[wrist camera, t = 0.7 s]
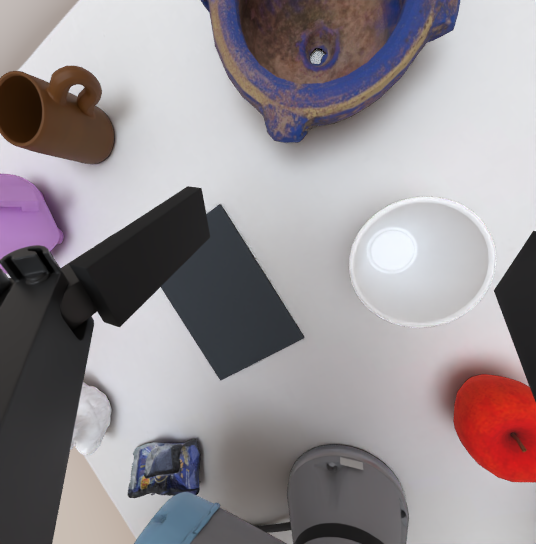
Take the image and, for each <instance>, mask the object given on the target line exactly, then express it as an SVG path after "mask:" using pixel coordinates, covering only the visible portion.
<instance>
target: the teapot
mask: <svg viewBox="0 0 536 544" xmlns="http://www.w3.org/2000/svg"><path fill="white" fill-rule="evenodd" d="M62 241H63V233H62V231H61V230H60V229H59V228H57V226H56V223H55V221H54V219H53V217H52V215H51V213H50V211H49V208H48V207H47V205H46V203H45V201H44V196H43V194H42V192H41V191H39V190H38V189H37V188H36V186H35V185H34V184H32V183H31V182H29V181H27V180H26V179H24V178H22V177H19V176H16V175H10V174H0V260H1V259H2V258H3V257H4V256H6V255H7V254H9V253H11V252H13V251H15V250H18V249H20V248H24V247H28V246H36V245H40V246H45V247H46V248H48V250H49V251H51V250H52V249H53V248H54V247H55V245H56V244H60V243H62ZM0 268H1V269H2V270H3V272H4V273H5V274H6V273H7V272H6V270H5V269H4V268H3V267H2V265H1V264H0Z"/></svg>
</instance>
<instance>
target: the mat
mask: <svg viewBox="0 0 536 544" xmlns="http://www.w3.org/2000/svg"><path fill="white" fill-rule="evenodd" d="M206 216H207V221H208V226H209V232H210V238H209V239H208V240H207V241H206V242H205V243H204V244H203V245H202V246H201V247H200V248H199V249H198V250H197V251H196V252H195V253H194V254H193V255H192V256H191V257H190V258H189V259H188V260H187V261H186V262H185V263H184V264H183V265H182V266H181V267H180V268H179V269H178V270H177V271H176V272H175V273H174V274H173V275H172V276H171V277H170V278H169V279H168V280H167V281H166V282H165V283H164V284H163V285H162V286H161V288H162V290H163V291H164V293H165V294H166V296H167V297H168V299H169V301H170V302H171V304H172V305H173V307H174V308H175V310H176V312H177V313H178V315H179V316H180V318H181V319H182V321H183V323H184V324H185V326H186V327H187V329H188V330H189V332H190V334H191V335H192V337H193V338H194V340H195V341H196V343H197V345H198V346H199V348H200V349H201V351H202V352H203V354H204V356H205V357H206V359H207V360H208V362H209V363H210V365H211V367H212V368H213V370H214V371H215V373H216V374H217V376H218V378H219V379H220V380H222V379H224V378H226V377H228V376H230V375H232V374H234V373H236V372H238V371H240V370H242V369H244V368H246V367H248V366H250V365H252V364H254V363H256V362H258V361H260V360H262V359H264V358H266V357H268V356H270V355H272V354H274V353H276V352H278V351H280V350H282V349H284V348H286V347H287V346H289V345H291V344H293V343H295V342H297V341H299V340H301V339H303V338H304V336H303V334H302V333H301V331H300V330H299V328H298V326H297V325H296V323H295V322H294V320H293V318H292V317H291V315H290V314H289V312H288V310H287V309H286V307H285V306H284V304H283V303H282V301H281V299H280V298H279V296H278V295H277V293H276V291H275V290H274V288H273V287H272V285H271V283H270V282H269V280H268V279H267V277H266V276H265V274H264V272H263V271H262V269H261V268H260V266H259V264H258V263H257V261H256V260H255V258H254V256H253V255H252V253H251V252H250V250H249V248H248V247H247V245H246V244H245V242H244V241H243V239H242V237H241V236H240V234H239V233H238V231H237V229H236V228H235V226H234V225H233V223H232V221H231V220H230V218H229V217H228V215H227V214H226V212H225V210H224V209H223V207H222V206H221V204H219V205H218V206H217V207H215V208H214V209H213V210H212V211H210V212H209V213H208V214H206Z"/></svg>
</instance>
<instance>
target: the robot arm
mask: <svg viewBox="0 0 536 544" xmlns="http://www.w3.org/2000/svg"><path fill="white" fill-rule="evenodd" d="M209 238H210V232H209V226H208V221H207V216H206V210H205V205H204V200H203V194H202V189H201V188H196V187H186V188H185V189H183V190H182V191H180V192H179V193H177V194H175V195H174V196H172V197H171V198H169V199H168V200H166V201H165V202H163V203H162V204H160V205H159V206H157V207H155V208H154V209H152V210H151V211H149V212H148V213H146V214H145V215H143V216H142V217H140V218H138V219H137V220H135V221H134V222H132V223H131V224H129V225H128V226H126V227H125V228H123V229H122V230H120V231H118V232H117V233H115V234H113V235H112V236H110V237H108V238H107V239H105V240H104V241H103V242H101V243H99V244H98V245H96V246H95V247H94V248H92V249H90V250H88V251H87V252H85V253H84V254H82V255H81V256H79V257H78V258H76V259H75V260H73V261H71V262H70V263H68V264H67V265H65V266H64V267H62V268H60V267H59V265H58V264H57V262H56V261H55V259H54V258H53V256H52V255H51V253H50V251H49V250H48V248H46V247H45V246H40V245H36V246H28V247H24V248H20V249H18V250H15V251H13V252H11V253H9V254H7V255H6V256H4V257H3V258H2V259H1V260H0V264H1V265H2V267H3V268H4V269H5V270H6V272H7V273H8V274H9V275H10V277H11V278H8V277H7V275H6V274H5V273H4V272H3V270H2V269H1V268H0V544H52V540H53V536H54V530H55V525H56V520H57V515H58V510H59V505H60V499H61V494H62V489H63V484H64V478H65V473H66V468H67V463H68V458H69V452H70V447H71V442H72V437H73V431H74V426H75V421H76V416H77V410H78V405H79V400H80V395H81V390H82V384H83V379H84V374H85V369H86V363H87V358H88V353H89V348H90V343H91V337H92V332H93V327H94V320H93V319H92V317H91V316H92V315H93V314H94V313H95V312H97V311H98V313H99V315H100V316H101V318H102V320H103V321H104V322H106V323H109V324H112V325H114V326H117V327H120V326H121V325H122V324H123V323H124V322H125V321H126V320H127V319H128V318H129V317H130V316H131V315H132V314H133V313H135V312H136V311H137V310H138V309H139V308H140V307H141V306H142V305H143V304H144V303H145V302H146V301H147V300H148V299H149V298H150V297H151V296H152V295H153V294H154V293H155V292H156V291H157V290H158V289H159V288H160V287H161V286H162V285H163V284H164V283H165V282H166V281H167V280H168V279H169V278H170V277H171V276H172V275H173V274H174V273H175V272H176V271H177V270H178V269H179V268H180V267H181V266H182V265H183V264H184V263H185V262H186V261H187V260H188V259H189V258H190V257H191V256H192V255H193V254H194V253H195V252H196V251H197V250H198V249H199V248H200V247H201V246H202V245H203V244H204V243H205V242H206V241H207V240H208V239H209ZM494 292H495V295H496V298H497V300H498V303H499V306H500V308H501V311H502V314H503V316H504V319H505V322H506V324H507V327H508V330H509V332H510V335H511V338H512V340H513V343H514V346H515V348H516V351H517V354H518V356H519V359H520V362H521V365H522V367H523V370H524V373H525V375H526V378H527V381H528V383H529V386H530V389H531V391H532V394H533V397H534V399H535V402H536V231H533V232H532V234H531V235H530V237H529V238H528V240H527V241H526V243H525V244H524V246H523V247H522V249H521V250H520V252H519V253H518V255H517V256H516V258H515V260H514V261H513V263H512V264H511V266H510V267H509V269H508V270H507V272H506V273H505V275H504V276H503V278H502V279H501V281H500V282H499V284H498V285H497V287H496V288H495V290H494ZM287 498H288V506H289V514H290V522H287V523H280V524H272V525H263V526H253V525H251V524H249V523H248V522H246V521H244V520H242V519H240V518H238V517H237V516H235V515H233V514H231V513H229V512H227V511H226V510H224V509H222V508H220V504H219V503H211V502H209V501H207V500H205V499H203V498H201V497H199V496H196V495H194V494H192V493H189V492H182V493H179V494H176V495H175V496H173V497H172V498H170V499H169V500H168V501H167V502H166V503H165V504H164V505H163V506H162V507H161V508H160V510H159V511H158V512H157V513H156V514H155V516H154V517H153V518H152V519H151V521H150V522H149V523H148V525H147V526H146V527H145V529H144V530H143V532H142V533H141V534H140V536H139V537H138V539H137V540H136V542H135V543H134V544H286V543H284V542H283V541H281V540H279V539H277V538H275V537H273V536H272V535H270V534H268V532H279V531H287V530H292V537H293V544H406V541H407V532H408V522H409V514H408V508H407V504H406V500H405V495H404V492H403V489H402V487H401V484H400V483H399V481H398V479H397V478H396V476H395V475H394V473H393V472H392V471H391V470H390V469H389V468H388V467H387V466H386V465H385V464H384V463H383V462H381V461H380V460H379V459H377V458H376V457H374V456H372V455H371V454H369V453H367V452H365V451H362V450H360V449H357V448H354V447H350V446H344V445H324V446H320V447H316V448H313V449H311V450H309V451H307V452H306V453H304V454H303V455H302V456H301V457H299V459H298V460H297V461H296V462H295V464H294V465H293V468H292V470H291V473H290V478H289V483H288V488H287Z"/></svg>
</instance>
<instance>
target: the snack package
mask: <svg viewBox="0 0 536 544" xmlns="http://www.w3.org/2000/svg"><path fill="white" fill-rule="evenodd" d="M133 455H134V462H133V464H132V465H133V466H132V471H131V480H130V481H131V482H130V484H129V490H128V496H129V497H130V498H137V497H140V496H144V495H146V494H150V493H156V494H159V495H160V494H161V495H169V496H170V495H173V496H175V495H176V494H179V493H182V492H189V493H192V494H194V495H197V494H198V493H199V483H200V481H199V476H198V475H199V465H200V456H201V454H200V450H199V447H198V442H197V440H195V439H194V440H190V441H187V442H185V443H182V444H173V443H172V444H167V443H154V442H152V443H147V444H145V445H142V446H139V447H137V448H136V449H135V451H134V453H133ZM151 495H154V494H151Z"/></svg>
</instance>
